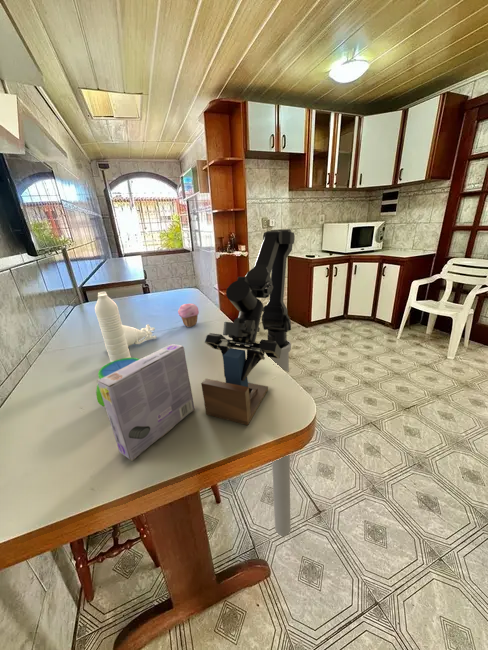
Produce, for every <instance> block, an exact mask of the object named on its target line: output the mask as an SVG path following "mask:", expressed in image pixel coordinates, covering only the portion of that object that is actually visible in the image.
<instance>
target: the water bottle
mask: <svg viewBox="0 0 488 650" xmlns="http://www.w3.org/2000/svg"><path fill="white" fill-rule="evenodd" d="M94 312H95V315H96V318H97V321H98V325H99V328H100V331H101V335H102V338H103V343H104V346H106V347H105V350H106V349H107V350H106V352H107V355H108V358H109V363H110V362H112V361H115V360H118V359H123V358H132V355H131V353H130V352H131V351H130V349H129V346H128V345H127V340H126V337H125V334H124V329H123V326H122V325H123V322H122V318H121V315H120V311H119V307H118V305H117V303H116V302H115V301H114V300H113V299H112V298H111V297H110V296H109V295H108V294H107V291H106V290H105V291H98V292H97V301H96V303H95V305H94Z"/></svg>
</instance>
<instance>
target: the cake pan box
mask: <svg viewBox="0 0 488 650" xmlns="http://www.w3.org/2000/svg"><path fill="white" fill-rule="evenodd" d="M139 359H140V360H138V361H136V362H133V363H132V364H130V365H128V366H126V367H124V368H122V369H120V370H118V371H116V372H114V373H112V374H110V375H108V376H106V377H103V378H101V379H99V378H98V380H97V381H96V383H97V385H98V386H99V389H100V392H101V395H102V398H103V401H104V405H105V407H104V408H105V411H106V415H107V417H108V420H109V423H110V427H111V430H112V433H113V436H114V439H115V442H116V445H117V448H118V451H119V453H120V454H121V455H123V456H124V457H126V458H127V459H128V460H130V461H131V462H132V461H135V460H136V459H137V458H138V456H140V455H141V454H142V453H144V452H145V451H146V450H147V449H148V448H150V447H151V446H152V445H153V444H154V443H156V442H157V441H158V440H161V439H162V438H163V437H164V436H165V435H166V434H167V433H169V432H170V431H171V430H172V429H174V428H175V426H176V425H177V424H179V423H180V422H181V421H183V419H185V418H186V417H188V416H189V414H191V413H192V412H194V411H195V409H196V408H195V404H194V397H193V392H192V386H191V381H190V376H189V370H188V364H187V358H186V350H185V347H184V346H183V345H180V344H174V343H170V344H168V345H166V346H164V347H162V348H160V349H158V350H156V351H154V352H152V353H150V354H147V355H146V356H144V357H141V358H139Z"/></svg>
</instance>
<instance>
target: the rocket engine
mask: <svg viewBox="0 0 488 650" xmlns="http://www.w3.org/2000/svg"><path fill="white" fill-rule="evenodd" d="M122 326H123V329H124V334H125V337H126V340H127V345H128V347H130V346H132V345H141V344H143V343H144V342H145V341H151V340H155V339H157V335H153V331H155V330H156V328H155V327H154V326H153V327H151V326H150V324H146V325H145V327H142V328H140V329H139V328H136V327H133V326H129V325H124V324H122ZM104 346H105V345H104ZM105 350H106V351H107V349H106V346H105Z"/></svg>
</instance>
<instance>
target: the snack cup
mask: <svg viewBox="0 0 488 650" xmlns="http://www.w3.org/2000/svg"><path fill="white" fill-rule="evenodd" d="M140 359H141V358H137V357H131V358H123V359H118V360H115V361H112V362H110V361H109V362H108V363H106V364H105V365H103V366H102V367H100V369H99V371H98V373H97V375H98V380H99V379H101V378H103V377H106V376H108V375H110V374H112V373H114V372H116V371H118V370H120V369H122V368H124V367H126V366H128V365H130V364H132V363H133V362H136V361H138V360H140ZM95 393H96V400H97V403H98V404H99V405H100V406H102V407H104V408H105V405H104V401H103V398H102V395H101V392H100V389H99V386H98V384H97V385H96V392H95Z"/></svg>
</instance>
